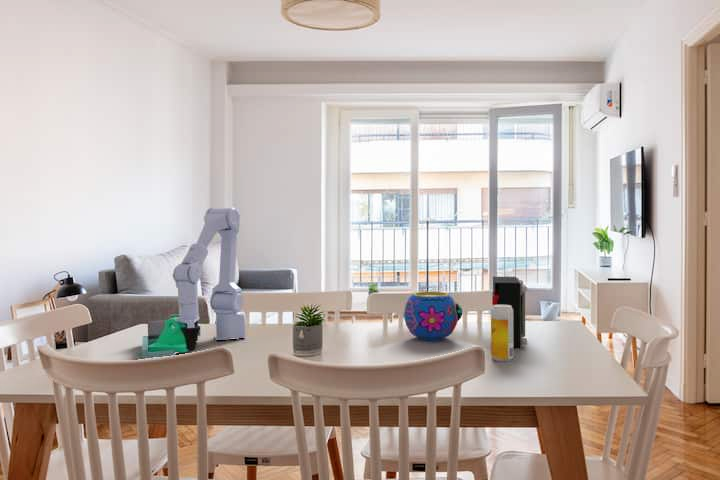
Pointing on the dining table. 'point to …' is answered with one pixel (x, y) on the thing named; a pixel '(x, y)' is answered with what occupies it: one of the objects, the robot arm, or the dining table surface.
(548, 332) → the dining table surface
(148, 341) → the pump bracket
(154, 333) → the motor housing
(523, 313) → the electrical component
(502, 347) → the beer can
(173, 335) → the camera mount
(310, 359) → the dining table surface
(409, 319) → the ceramic pot
